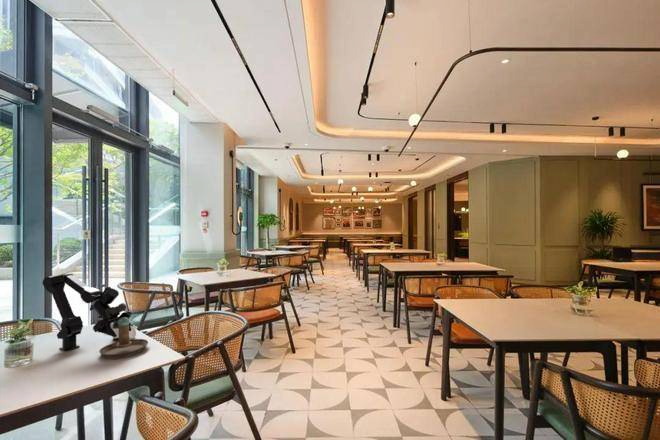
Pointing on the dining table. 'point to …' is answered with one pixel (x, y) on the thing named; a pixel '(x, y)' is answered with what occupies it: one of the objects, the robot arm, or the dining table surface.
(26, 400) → the dining table surface
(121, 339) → the bead column
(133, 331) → the spread jar
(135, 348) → the plant saucer
